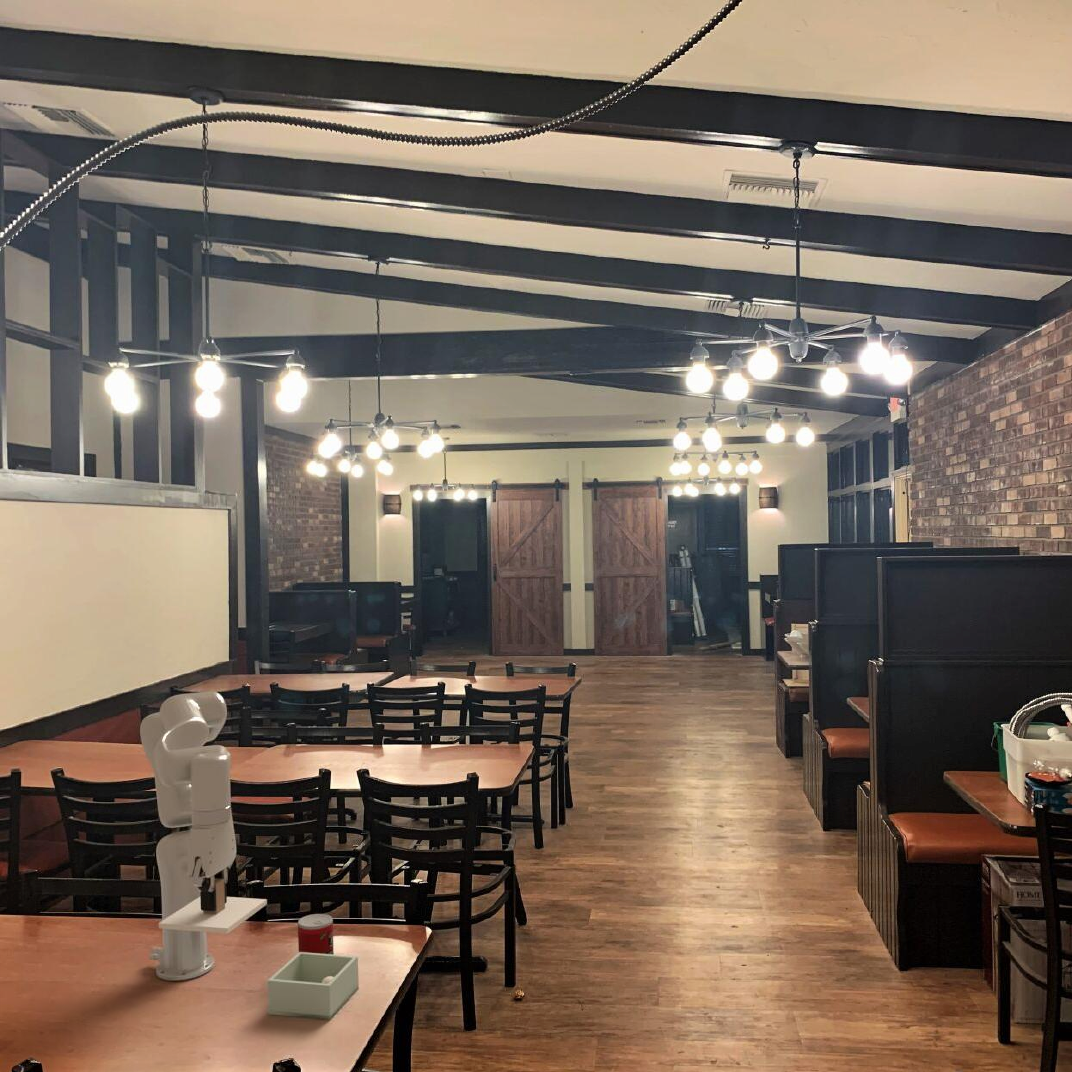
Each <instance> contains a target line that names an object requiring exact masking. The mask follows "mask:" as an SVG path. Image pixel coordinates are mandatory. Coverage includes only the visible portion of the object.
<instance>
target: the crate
mask: <svg viewBox="0 0 1072 1072" xmlns="http://www.w3.org/2000/svg"><path fill="white" fill-rule="evenodd" d="M328 976H332V977H334V978H333V979H332V980H331V981H330V982H329V983H328V984H325V983H322V981H323V979H324V978H326V977H328ZM359 985H360V984H359V956H354V955H343V954H334V955H332V954H319V953H307V952H299V951H298V952H297V953H296V954H295V955H294V956H293V957H292V958H291V959H289V961H287V962H286V963H285V964H284V965H283V966H282V967H280V969H279V970H277V971H276V972H275V973H274V974H273V975H272V976H271V977H270V978H269V979H267V1003H268V1004H267V1012H268V1013H267V1014H268V1015H273V1016H275V1015H276V1016H284V1017H293V1018H295V1017H296V1018H303V1019H304V1018H306V1019H316V1020H326V1021H332V1019H333V1018H334V1017H335V1016H336V1014H337V1013H338V1012H339V1011H340V1010H341V1009H342V1008H343V1007H344V1006H345V1005H346V1004H347V1003H348V1001H349V1000H350V999H351V998H352V997H353V995H355V994H356V993H357V992H358V990H359V989H360V988H359Z"/></svg>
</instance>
